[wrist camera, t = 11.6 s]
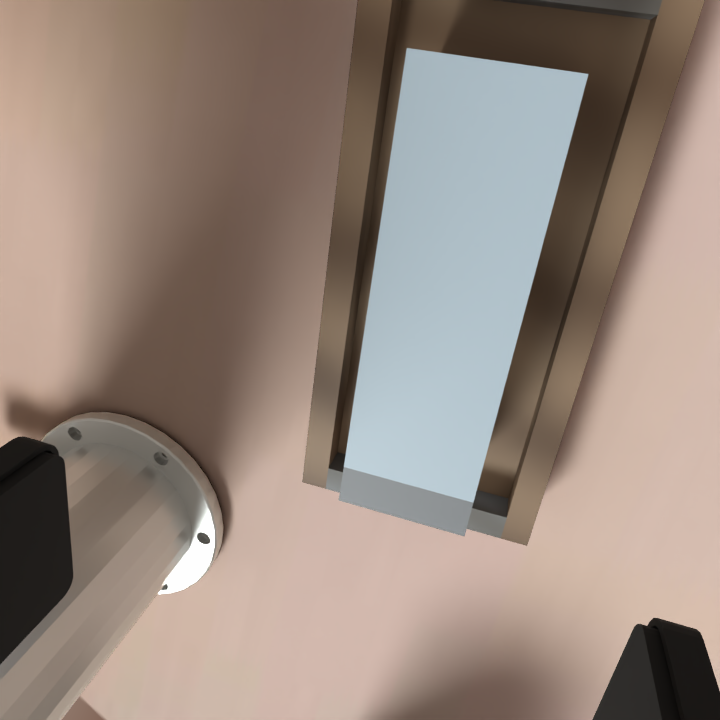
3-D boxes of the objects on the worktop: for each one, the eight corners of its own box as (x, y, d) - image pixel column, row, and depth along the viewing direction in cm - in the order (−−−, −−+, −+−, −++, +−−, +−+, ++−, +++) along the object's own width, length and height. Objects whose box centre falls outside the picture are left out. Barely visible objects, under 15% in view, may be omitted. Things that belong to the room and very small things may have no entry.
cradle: (528, 506, 31) (527, 545, 28) (321, 450, 33) (302, 482, 30) (691, -11, 21) (713, -26, 19) (385, -46, 23) (365, -64, 20)
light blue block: (438, 58, 23) (406, 48, 17) (577, 78, 22) (588, 73, 16) (375, 426, 30) (338, 500, 24) (478, 453, 29) (464, 536, 23)
